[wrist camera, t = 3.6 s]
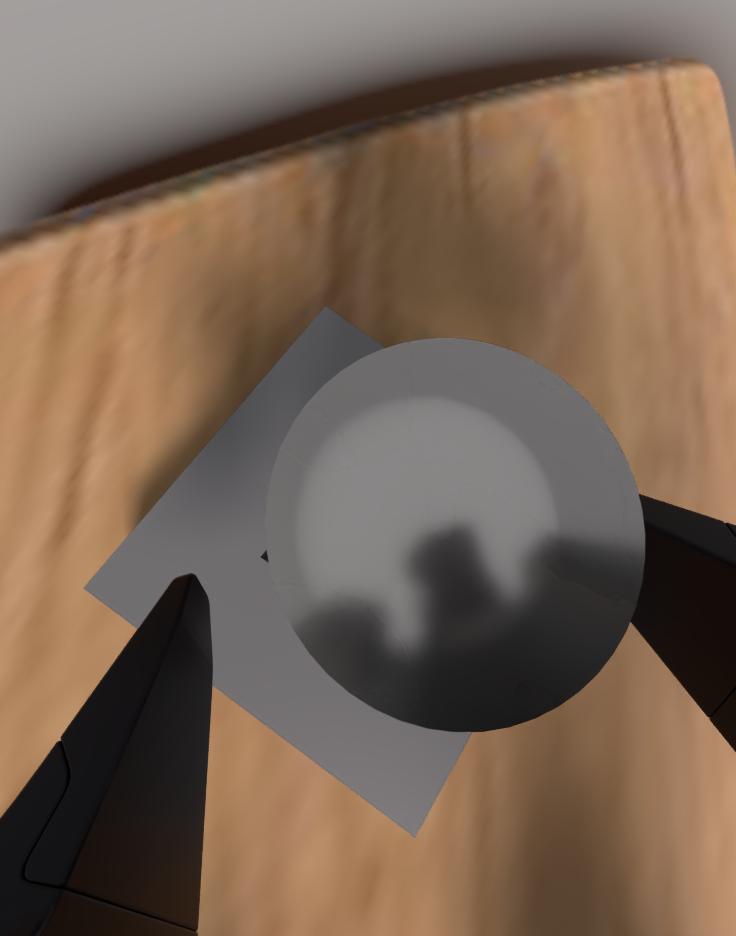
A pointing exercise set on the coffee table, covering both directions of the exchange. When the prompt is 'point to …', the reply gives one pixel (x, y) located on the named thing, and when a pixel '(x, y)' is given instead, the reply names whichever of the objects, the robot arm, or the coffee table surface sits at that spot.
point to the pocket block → (273, 591)
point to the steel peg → (455, 535)
